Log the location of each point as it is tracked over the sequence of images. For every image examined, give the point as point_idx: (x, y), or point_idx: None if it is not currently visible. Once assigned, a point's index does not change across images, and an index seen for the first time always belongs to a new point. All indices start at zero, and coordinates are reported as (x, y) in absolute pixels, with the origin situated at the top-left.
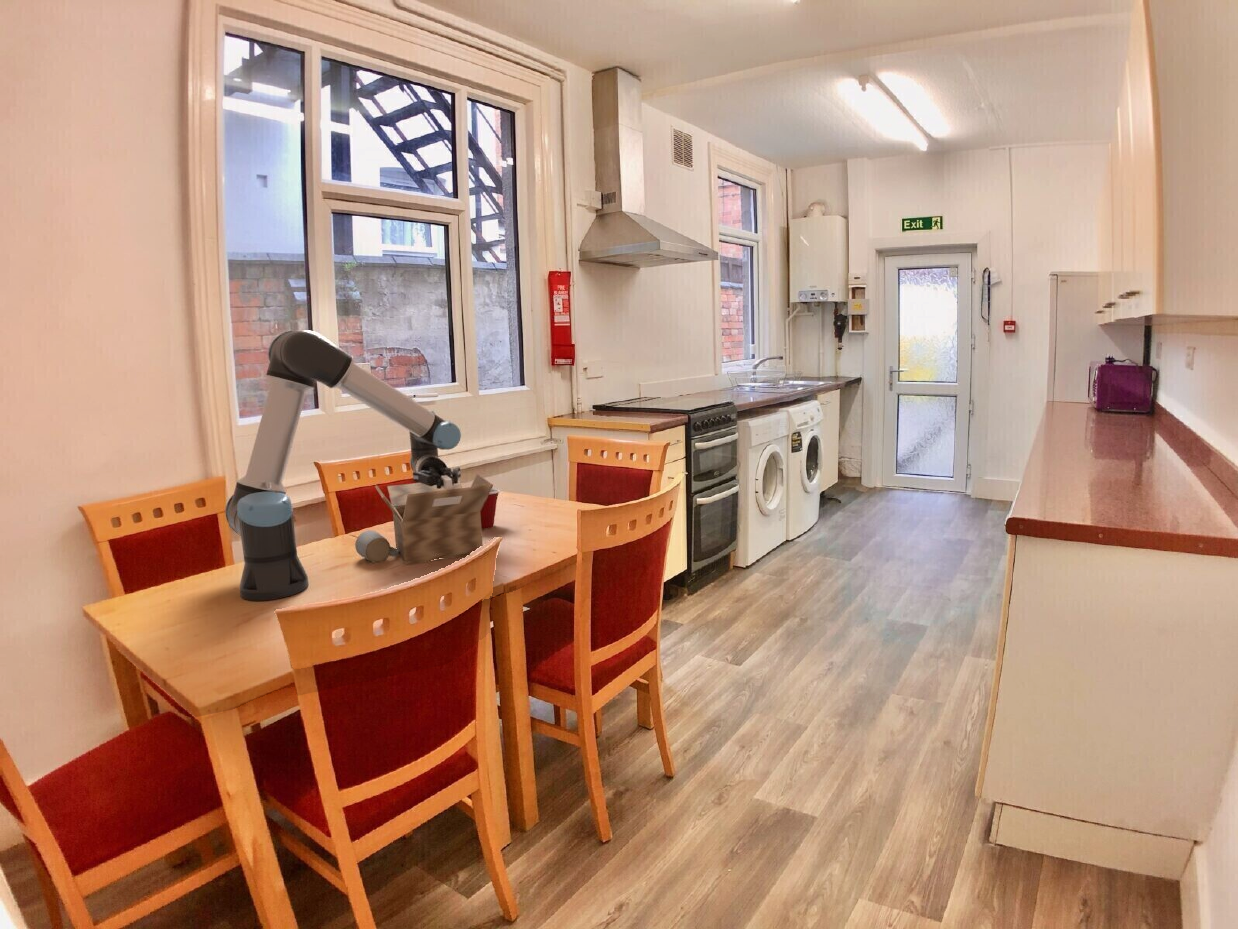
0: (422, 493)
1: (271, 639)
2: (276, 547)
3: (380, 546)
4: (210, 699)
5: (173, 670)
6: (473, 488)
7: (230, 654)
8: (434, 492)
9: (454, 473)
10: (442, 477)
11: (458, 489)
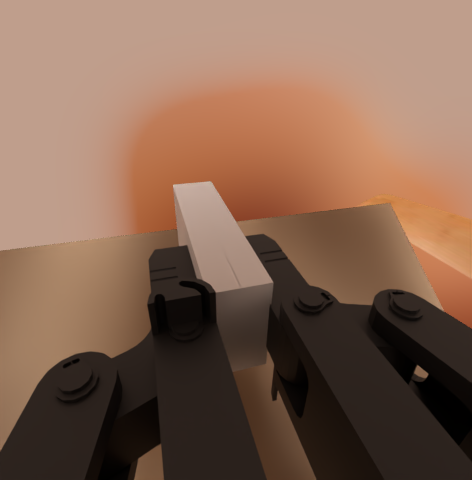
0: (328, 211)
1: (427, 250)
2: None
3: None
4: (384, 195)
5: (468, 221)
6: (53, 250)
7: (442, 234)
8: (273, 219)
9: (80, 367)
10: (245, 239)
11: (146, 234)
